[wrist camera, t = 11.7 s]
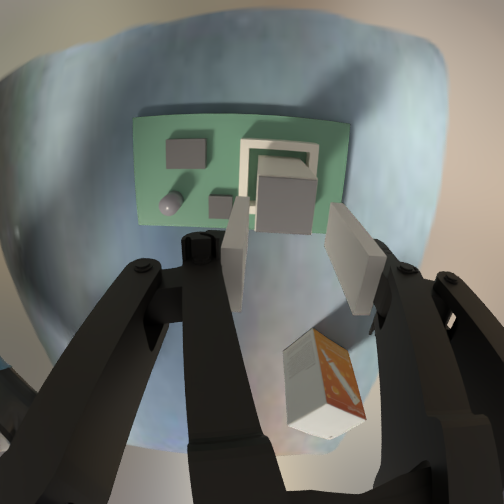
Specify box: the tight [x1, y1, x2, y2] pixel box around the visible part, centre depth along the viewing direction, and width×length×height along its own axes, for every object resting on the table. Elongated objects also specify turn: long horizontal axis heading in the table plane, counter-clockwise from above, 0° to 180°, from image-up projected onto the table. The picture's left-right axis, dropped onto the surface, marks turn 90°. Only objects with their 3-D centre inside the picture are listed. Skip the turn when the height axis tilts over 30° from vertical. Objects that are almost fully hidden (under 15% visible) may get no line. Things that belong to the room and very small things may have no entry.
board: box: [133, 114, 350, 234], centre depth 28 cm, size 22×12×4 cm, turn 88°
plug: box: [254, 155, 318, 235], centre depth 24 cm, size 4×4×10 cm
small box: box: [283, 328, 366, 440], centre depth 35 cm, size 8×6×13 cm
